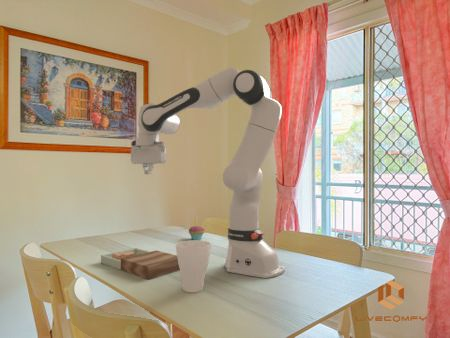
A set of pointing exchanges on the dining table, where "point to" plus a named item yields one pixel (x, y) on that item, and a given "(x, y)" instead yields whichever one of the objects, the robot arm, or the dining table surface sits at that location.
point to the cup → (193, 263)
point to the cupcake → (196, 232)
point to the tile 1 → (117, 256)
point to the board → (150, 264)
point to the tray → (116, 263)
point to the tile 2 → (127, 254)
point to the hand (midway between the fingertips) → (148, 174)
